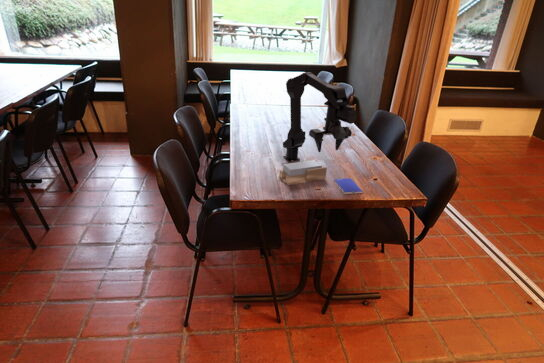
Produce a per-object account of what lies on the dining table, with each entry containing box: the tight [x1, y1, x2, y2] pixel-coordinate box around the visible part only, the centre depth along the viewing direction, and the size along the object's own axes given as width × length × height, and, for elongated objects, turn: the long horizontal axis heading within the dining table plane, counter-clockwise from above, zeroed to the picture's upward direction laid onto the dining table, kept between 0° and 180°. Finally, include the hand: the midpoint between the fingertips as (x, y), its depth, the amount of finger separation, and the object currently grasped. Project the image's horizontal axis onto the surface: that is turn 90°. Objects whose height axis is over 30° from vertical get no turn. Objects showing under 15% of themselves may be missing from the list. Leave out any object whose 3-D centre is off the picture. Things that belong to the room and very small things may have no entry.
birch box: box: [278, 159, 328, 186], centre depth 163 cm, size 9×19×6 cm, turn 115°
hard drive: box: [333, 177, 363, 195], centre depth 159 cm, size 2×8×12 cm
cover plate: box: [282, 159, 323, 176], centre depth 162 cm, size 6×16×3 cm, turn 115°
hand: (327, 151), depth 163 cm, fingers open, 9 cm apart
